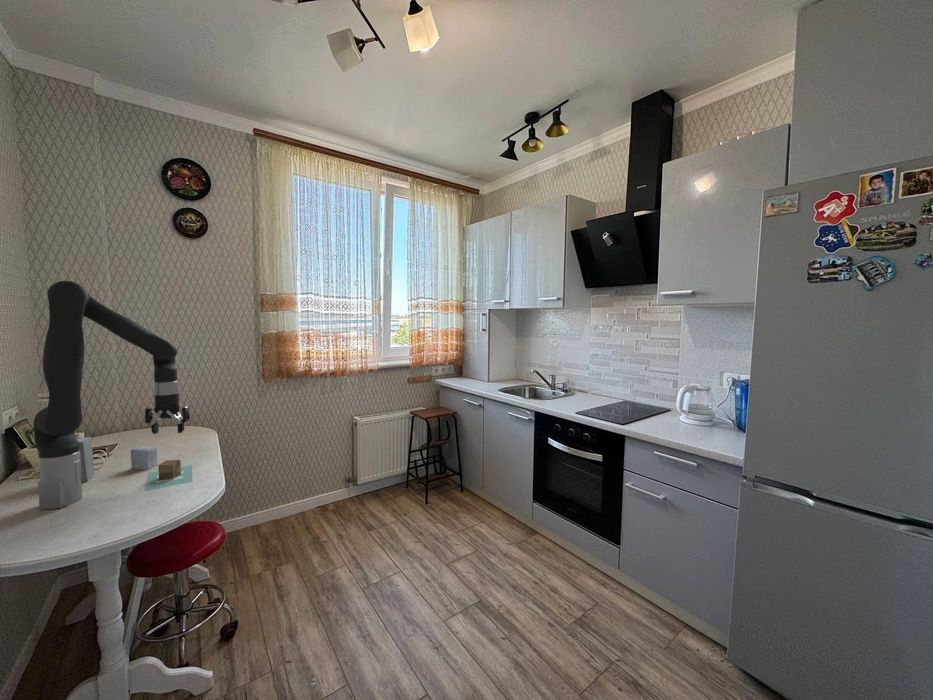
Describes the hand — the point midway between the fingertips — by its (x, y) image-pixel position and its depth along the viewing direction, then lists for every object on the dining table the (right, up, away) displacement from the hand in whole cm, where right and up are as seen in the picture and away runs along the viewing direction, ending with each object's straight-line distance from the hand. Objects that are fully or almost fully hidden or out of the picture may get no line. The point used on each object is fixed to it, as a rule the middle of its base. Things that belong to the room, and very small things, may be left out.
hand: (168, 432), depth 143 cm
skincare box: (-33, -18, -2) cm, 38 cm away
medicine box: (-18, -18, +10) cm, 27 cm away
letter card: (0, -18, +1) cm, 18 cm away
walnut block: (0, -18, +1) cm, 18 cm away
